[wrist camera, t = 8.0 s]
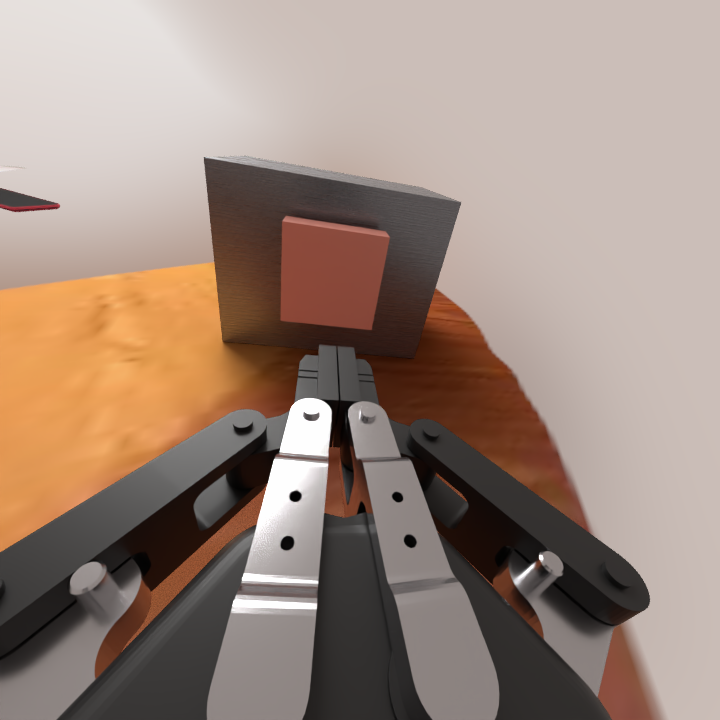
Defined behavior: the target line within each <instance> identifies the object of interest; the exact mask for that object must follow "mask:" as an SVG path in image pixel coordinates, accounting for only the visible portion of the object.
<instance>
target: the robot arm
mask: <svg viewBox="0 0 720 720" xmlns="http://www.w3.org/2000/svg"><path fill="white" fill-rule="evenodd" d="M332 441H333V447H340V460H339V472H340V480H341V488H342V496H343V504H344V514H345V518H342V517H338V516H334V515H330V514H326V513H324V508H325V496H326V484H327V473H328V451H329V447H332ZM436 472H437V473H438V474H439V475H440V476H441V477H442V478H444V479H445V480H446V481H447V482H448V483H450V484H451V485H452V486H453V487H454V488H456V489H457V490H458V491H459V492H460V493H461V494H462V495H463V496H464V497H465V498H466V500H467V502H466V501H465V500H464V499H463V498H461V497H460V496H459V495H458V494H457V493H456V492H454V491H453V490H452V489H451V488H450V487H449V486H447V485H446V484H445V483H444V482H443V481H441V480H440V479H439V478H438V477H437V476H436ZM267 483H268V485H267V489H266V493H265V497H264V500H263V504H262V508H261V512H260V515H259V519H258V523H257V525H254V526H252V527H250V528H248V529H247V530H245V531H243V532H242V533H240V534H239V535H237V536H236V537H235V538H233V539H232V540H231V541H230V542H229V543H227V544H226V545H225V546H224V547H223V548H222V549H221V550H220V551H219V552H218V553H217V554H216V555H215V557H214V558H213V559H212V560H211V561H210V562H209V563H208V564H207V565H206V566H205V567H204V568H203V569H202V570H201V571H200V572H199V573H198V574H197V575H196V576H195V577H194V578H193V579H192V580H191V581H190V582H189V583H188V584H187V585H186V586H185V587H184V588H183V590H182V591H181V592H180V593H179V594H178V595H177V596H176V597H175V598H174V599H173V600H172V601H171V602H170V603H169V604H168V605H167V606H166V607H165V608H164V609H163V610H162V611H161V612H160V613H159V614H158V615H157V616H156V617H155V618H154V619H153V620H152V621H151V623H150V624H149V625H148V626H147V627H146V628H145V629H144V630H143V631H142V632H141V633H140V634H139V635H138V636H137V637H136V638H135V639H134V640H133V641H132V642H131V643H130V644H129V645H128V646H127V647H126V648H125V649H124V650H123V648H124V647H125V645H126V644H127V642H128V641H129V640H130V639H131V637H132V636H133V635H134V634H135V633H136V632H137V630H138V629H139V628H140V627H141V625H142V624H143V622H144V620H145V619H146V617H147V614H148V612H149V609H150V605H151V591H152V590H154V589H155V588H156V587H157V586H158V585H159V584H160V583H161V582H162V581H163V580H164V579H166V578H167V577H168V576H169V575H170V574H171V573H172V572H173V571H174V570H175V569H177V568H178V567H179V566H180V565H181V564H182V563H183V562H184V561H185V560H186V559H187V558H189V557H190V556H191V555H192V554H193V553H194V552H195V551H196V550H197V549H198V548H200V547H201V546H202V545H203V544H204V543H205V542H206V541H207V540H208V539H209V538H211V537H212V536H213V535H214V534H215V533H216V532H217V531H218V530H219V529H220V528H221V527H223V526H224V525H225V524H226V523H227V522H228V521H229V520H230V519H231V518H232V517H234V516H235V515H236V514H237V513H238V512H239V511H240V510H241V509H242V508H243V507H244V506H246V505H247V504H248V503H249V502H250V501H251V500H252V499H253V498H254V497H255V496H257V495H258V494H259V493H260V492H261V491H262V490H263V489H264V487H265V486H266V484H267ZM437 531H438V532H439V533H440V534H441V535H440V534H439V533H438V532H437ZM458 551H459V552H460V553H461V554H462V555H463V556H464V557H465V558H466V559H467V560H468V561H469V562H470V563H471V564H472V565H473V566H474V567H475V568H476V569H477V570H478V571H479V572H480V573H481V574H482V575H483V576H484V577H485V578H486V579H487V580H488V581H489V582H490V583H491V584H492V585H493V587H492V586H491V585H490V584H489V583H488V582H487V581H486V579H485V578H484V577H483V576H482V575H481V574H480V573H479V572H478V571H477V570H476V569H475V568H474V567H473V566H472V565H471V564H470V563H469V562H468V561H467V560H466V559H465V558H464V557H463V556H462V555H461V554H460V553H459V552H458ZM649 602H650V596H649V592H648V589H647V587H646V585H645V583H644V581H643V579H642V578H641V576H640V575H639V574H638V572H637V571H636V570H635V569H634V568H633V567H632V566H631V565H630V564H629V563H628V562H627V561H626V560H625V559H624V558H622V557H621V556H620V555H619V554H617V553H616V552H615V551H613V550H612V549H610V548H609V547H608V546H606V545H605V544H604V543H602V542H601V541H600V540H598V539H597V538H595V537H594V536H593V535H591V534H590V533H589V532H587V531H586V530H584V529H583V528H582V527H580V526H579V525H578V524H576V523H575V522H574V521H572V520H571V519H569V518H568V517H567V516H565V515H564V514H563V513H561V512H560V511H558V510H557V509H556V508H554V507H553V506H552V505H550V504H549V503H548V502H546V501H545V500H543V499H542V498H541V497H539V496H538V495H537V494H535V493H534V492H533V491H531V490H530V489H528V488H527V487H526V486H524V485H523V484H522V483H520V482H519V481H517V480H516V479H515V478H513V477H512V476H511V475H509V474H508V473H507V472H505V471H504V470H502V469H501V468H500V467H498V466H497V465H496V464H494V463H493V462H491V461H490V460H489V459H487V458H486V457H485V456H483V455H482V454H481V453H479V452H478V451H476V450H475V449H474V448H472V447H471V446H470V445H468V444H467V443H466V442H464V441H463V440H461V439H460V438H459V437H457V436H456V435H455V434H453V433H452V432H450V431H449V430H448V429H446V428H445V427H444V426H442V425H441V424H439V423H438V422H436V421H433V420H429V419H418V420H416V421H414V422H413V423H412V424H411V426H407V425H404V424H401V423H398V422H395V421H393V420H391V419H389V418H388V417H387V414H386V412H385V411H384V409H383V408H382V407H380V406H379V402H378V397H377V392H376V387H375V383H374V378H373V373H372V368H371V366H370V365H369V364H368V362H367V361H366V360H364V359H356V357H355V350H354V347H344V346H337V348H336V346H332V345H321V344H319V350H318V356H314V355H305V356H304V357H303V359H302V360H301V361H300V364H299V372H298V380H297V387H296V395H295V402H294V405H293V406H292V407H291V409H290V410H289V411H288V412H287V413H285V414H283V415H280V416H277V417H273V418H267V419H266V418H265V417H264V415H262V414H261V413H260V412H258V411H255V410H250V409H242V410H237V411H234V412H231V413H229V414H228V415H226V416H224V417H223V418H221V419H219V420H218V421H216V422H214V423H213V424H211V425H209V426H208V427H206V428H204V429H203V430H201V431H200V432H198V433H196V434H195V435H193V436H191V437H190V438H188V439H186V440H185V441H183V442H181V443H180V444H178V445H176V446H175V447H173V448H172V449H170V450H168V451H167V452H165V453H163V454H162V455H160V456H158V457H157V458H155V459H153V460H152V461H150V462H148V463H147V464H145V465H144V466H142V467H140V468H139V469H137V470H135V471H134V472H132V473H130V474H129V475H127V476H125V477H124V478H122V479H120V480H119V481H117V482H116V483H114V484H112V485H111V486H109V487H107V488H106V489H104V490H102V491H101V492H99V493H97V494H96V495H94V496H92V497H91V498H89V499H88V500H86V501H84V502H83V503H81V504H79V505H78V506H76V507H74V508H73V509H71V510H69V511H68V512H66V513H64V514H63V515H61V516H60V517H58V518H56V519H55V520H53V521H51V522H50V523H48V524H46V525H45V526H43V527H41V528H40V529H38V530H36V531H35V532H33V533H32V534H30V535H28V536H27V537H25V538H23V539H22V540H20V541H18V542H17V543H15V544H13V545H12V546H10V547H8V548H7V549H5V550H4V551H2V552H0V720H612V719H611V717H610V716H609V714H608V712H607V711H606V709H605V708H604V706H603V705H602V703H601V702H600V700H599V699H598V698H597V697H598V693H599V688H600V684H601V680H602V675H603V671H604V667H605V663H606V658H607V654H608V650H609V645H610V641H611V637H612V632H613V629H614V628H615V627H617V626H618V625H620V624H621V623H623V622H625V621H627V620H628V619H630V618H632V617H633V616H635V615H637V614H638V613H640V612H642V611H644V610H645V609H646V608H647V607H648V606H649ZM122 650H123V651H122ZM121 651H122V652H121Z"/></svg>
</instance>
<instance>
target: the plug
mask: <svg viewBox="0 0 720 720" xmlns="http://www.w3.org/2000/svg"><path fill="white" fill-rule="evenodd" d="M389 240H390V237H389V235H388V234H387V232H386V231H382V230H375V229H369V228H362V227H356V226H349V225H343V224H336V223H330V222H323V221H317V220H310V219H304V218H297V217H291V216H285V218H284V219H283V221H282V258H281V319H280V321H288V322H297V323H307V324H317V325H327V326H336V327H346V328H356V329H366V330H372V325H373V320H374V315H375V310H376V305H377V300H378V295H379V290H380V285H381V280H382V275H383V270H384V265H385V260H386V255H387V250H388V245H389Z"/></svg>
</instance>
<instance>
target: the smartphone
mask: <svg viewBox="0 0 720 720" xmlns="http://www.w3.org/2000/svg"><path fill="white" fill-rule="evenodd" d="M0 208H2V209H5V210H9V211H12V212H26V211H39V210H53V209H58V208H60V205H59V204H58V203H54V202H51V201H46V200H43V199H39V198H35V197H32V196H28V195H24V194H21V193H17V192H13V191H9V190H6V189H2V188H0Z"/></svg>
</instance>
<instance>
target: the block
mask: <svg viewBox="0 0 720 720" xmlns="http://www.w3.org/2000/svg"><path fill="white" fill-rule="evenodd" d="M204 164H205V174H206V183H207V193H208V203H209V212H210V223H211V233H212V243H213V252H214V262H215V272H216V282H217V292H218V301H219V311H220V321H221V331H222V341H225V342H236V343H247V344H258V345H269V346H280V347H291V348H302V349H313V350H319V344H321V345H332V346H336V348H337V346H344V347H354V350H355V353H358V354H369V355H380V356H391V357H402V358H413V359H414V357H415V354H416V350H417V347H418V344H419V340H420V337H421V334H422V331H423V327H424V324H425V321H426V317H427V314H428V311H429V307H430V304H431V301H432V297H433V294H434V291H435V288H436V284H437V281H438V278H439V274H440V271H441V268H442V264H443V261H444V258H445V254H446V251H447V248H448V244H449V241H450V238H451V234H452V231H453V228H454V225H455V221H456V218H457V215H458V212H459V208H460V205H461V202H459V201H456V200H454V199H451V198H448V197H446V196H443V195H440V194H438V193H435V192H432V191H430V190H427V189H424V188H422V187H416V186H410V185H405V184H399V183H393V182H388V181H382V180H377V179H371V178H365V177H360V176H355V175H348V174H344V173H338V172H332V171H326V170H321V169H315V168H310V167H304V166H299V165H293V164H288V163H282V162H277V161H271V160H265V159H260V158H254V157H249V156H230V157H204ZM285 216H291V217H297V218H304V219H310V220H317V221H323V222H330V223H336V224H343V225H349V226H356V227H362V228H369V229H375V230H382V231H386V232H387V234H388V235H389V237H390V240H389V245H388V250H387V255H386V260H385V265H384V270H383V275H382V280H381V285H380V290H379V295H378V300H377V305H376V310H375V315H374V320H373V325H372V330H366V329H356V328H346V327H336V326H327V325H317V324H307V323H297V322H288V321H280V319H281V258H282V221H283V219H284V218H285Z"/></svg>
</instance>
